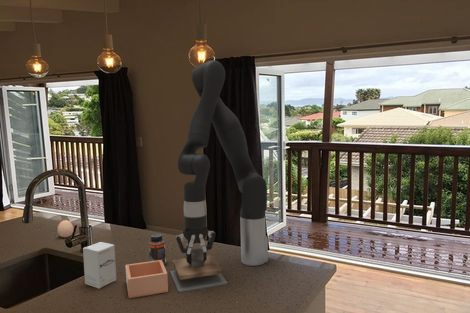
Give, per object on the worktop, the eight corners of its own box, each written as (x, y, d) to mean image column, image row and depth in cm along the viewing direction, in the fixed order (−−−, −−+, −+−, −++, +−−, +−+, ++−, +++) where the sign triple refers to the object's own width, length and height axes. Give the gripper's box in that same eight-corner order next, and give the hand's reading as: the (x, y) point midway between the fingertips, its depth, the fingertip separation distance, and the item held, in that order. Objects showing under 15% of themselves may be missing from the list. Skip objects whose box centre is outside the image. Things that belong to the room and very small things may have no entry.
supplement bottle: (169, 263, 147) (168, 233, 146) (159, 269, 142) (158, 238, 140) (156, 260, 150) (154, 231, 148) (146, 266, 144) (144, 236, 143)
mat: (214, 266, 143) (214, 264, 143) (227, 284, 128) (227, 282, 128) (170, 272, 138) (170, 271, 138) (178, 292, 123) (178, 291, 123)
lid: (211, 258, 142) (211, 241, 141) (222, 273, 129) (222, 255, 128) (172, 263, 137) (172, 246, 137) (179, 279, 124) (179, 261, 123)
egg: (72, 238, 177) (71, 221, 176) (56, 240, 176) (55, 222, 175) (74, 234, 183) (73, 217, 182) (59, 235, 182) (58, 218, 181)
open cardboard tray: (162, 276, 135) (161, 259, 134) (168, 291, 124) (167, 273, 123) (126, 282, 131) (125, 264, 131) (128, 298, 120) (127, 279, 119)
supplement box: (99, 289, 127) (96, 251, 125) (84, 284, 131) (81, 247, 129) (117, 280, 133) (115, 244, 131) (102, 276, 137) (100, 240, 135)
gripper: (212, 208, 136) (214, 256, 138) (171, 212, 132) (173, 261, 134) (218, 214, 129) (219, 264, 131) (175, 218, 125) (177, 270, 127)
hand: (196, 262), depth 133 cm, fingers closed on lid, 4 cm apart
